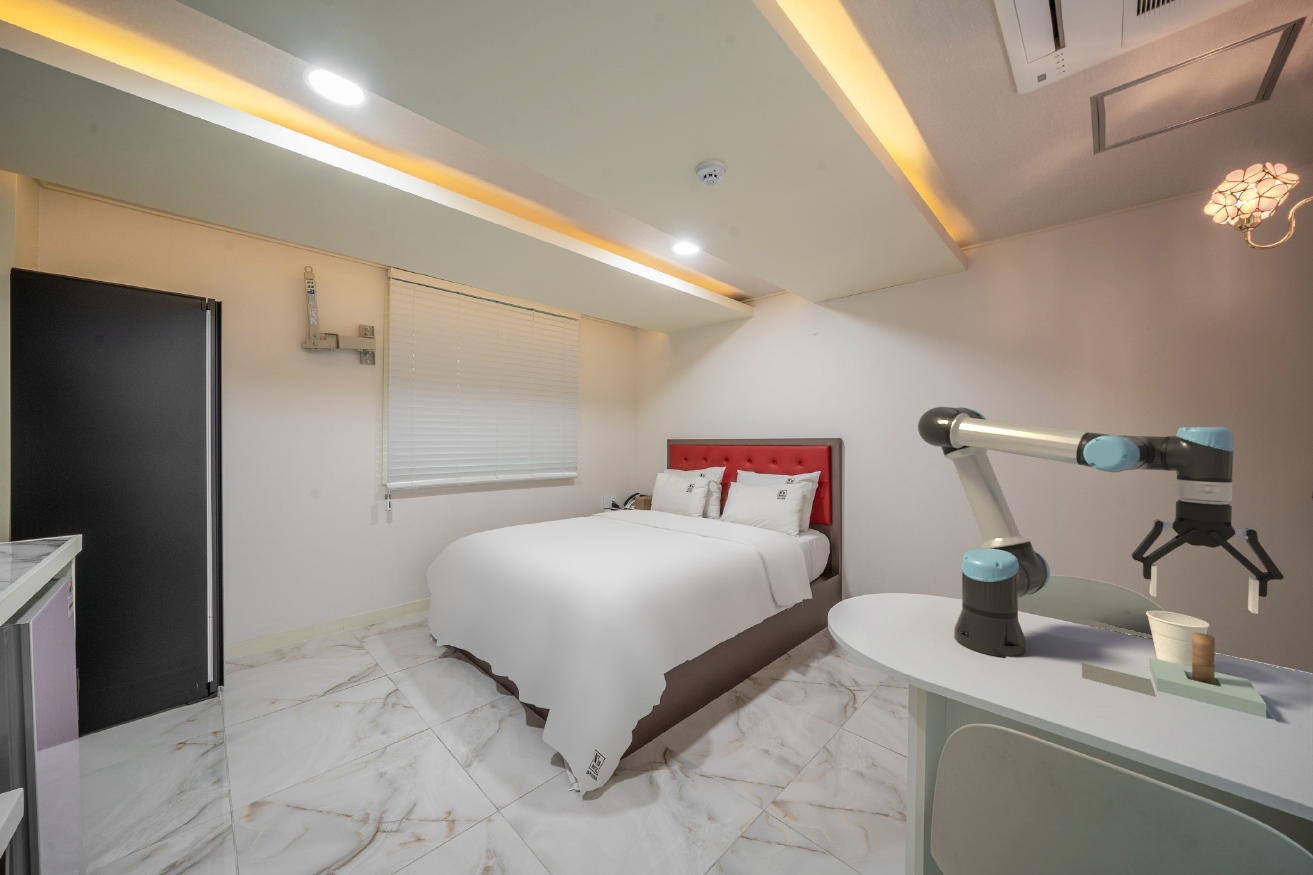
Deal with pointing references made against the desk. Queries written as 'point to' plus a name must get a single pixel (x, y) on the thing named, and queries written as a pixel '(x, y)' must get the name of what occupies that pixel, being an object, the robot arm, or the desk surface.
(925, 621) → the desk surface
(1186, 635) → the cup
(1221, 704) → the socket block
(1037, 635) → the desk surface
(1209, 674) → the peg
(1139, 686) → the mat
